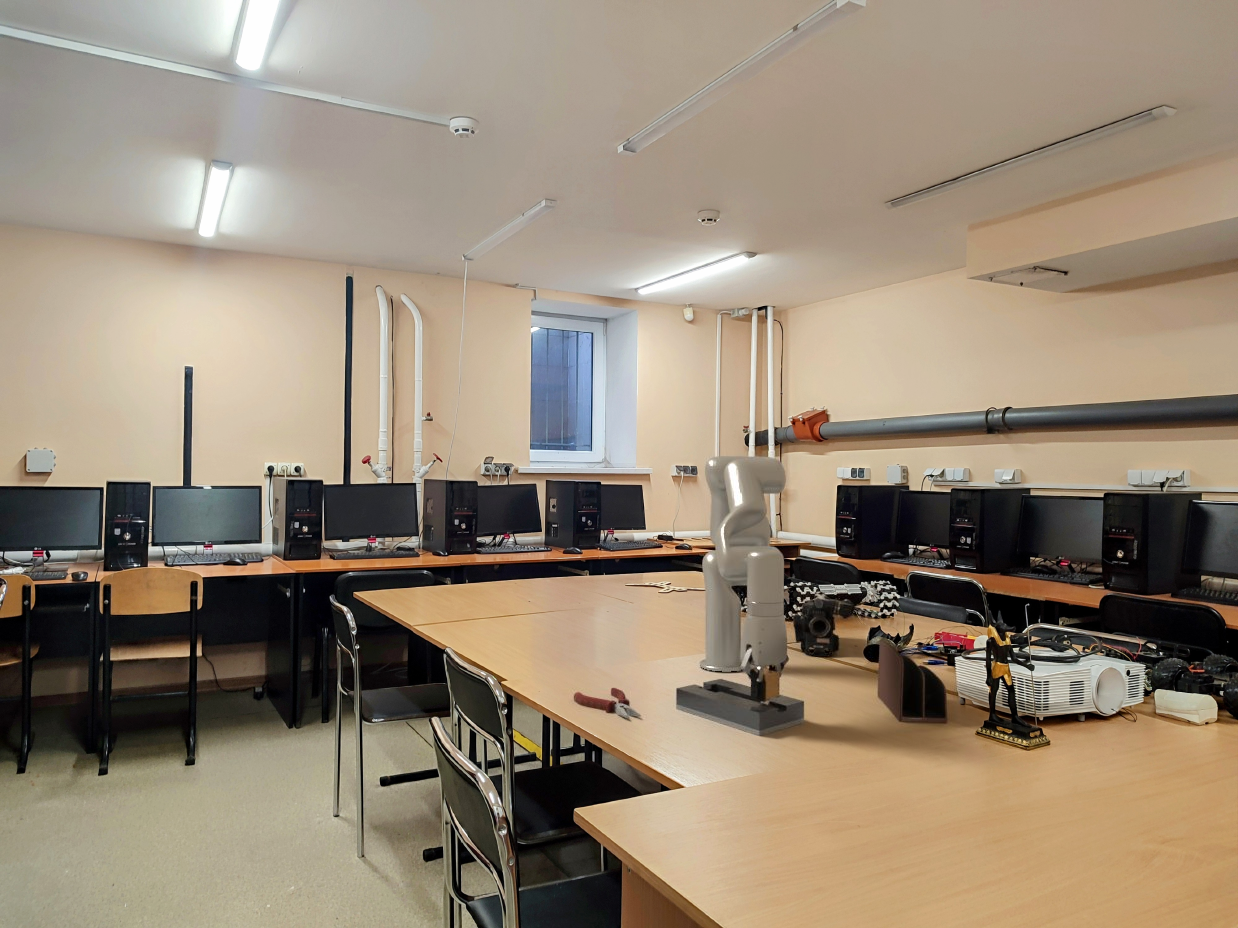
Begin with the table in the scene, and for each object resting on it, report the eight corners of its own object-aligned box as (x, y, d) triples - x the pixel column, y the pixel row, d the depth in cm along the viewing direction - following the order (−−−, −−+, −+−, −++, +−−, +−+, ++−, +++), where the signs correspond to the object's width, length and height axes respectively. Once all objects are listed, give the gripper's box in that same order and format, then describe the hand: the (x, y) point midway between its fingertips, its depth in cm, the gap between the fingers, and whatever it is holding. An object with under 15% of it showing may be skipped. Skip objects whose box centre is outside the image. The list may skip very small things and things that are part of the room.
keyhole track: (720, 698, 188) (720, 678, 188) (804, 722, 169) (804, 700, 170) (676, 708, 179) (676, 688, 179) (759, 735, 161) (759, 712, 161)
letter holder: (899, 722, 170) (899, 655, 171) (877, 697, 190) (877, 637, 190) (948, 724, 170) (947, 656, 170) (920, 698, 189) (920, 638, 190)
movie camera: (857, 659, 226) (854, 595, 228) (792, 657, 232) (789, 596, 233) (858, 642, 256) (855, 586, 257) (800, 641, 261) (798, 586, 263)
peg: (764, 713, 171) (764, 668, 172) (778, 717, 168) (778, 672, 168) (751, 716, 169) (751, 671, 169) (766, 721, 166) (766, 674, 166)
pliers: (610, 726, 168) (610, 713, 168) (571, 702, 186) (571, 690, 186) (658, 719, 173) (658, 706, 173) (616, 696, 191) (616, 685, 191)
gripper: (777, 603, 177) (777, 687, 177) (724, 611, 167) (724, 700, 166) (805, 607, 171) (805, 694, 171) (751, 616, 161) (751, 708, 161)
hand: (765, 696), depth 169 cm, fingers closed on peg, 4 cm apart
